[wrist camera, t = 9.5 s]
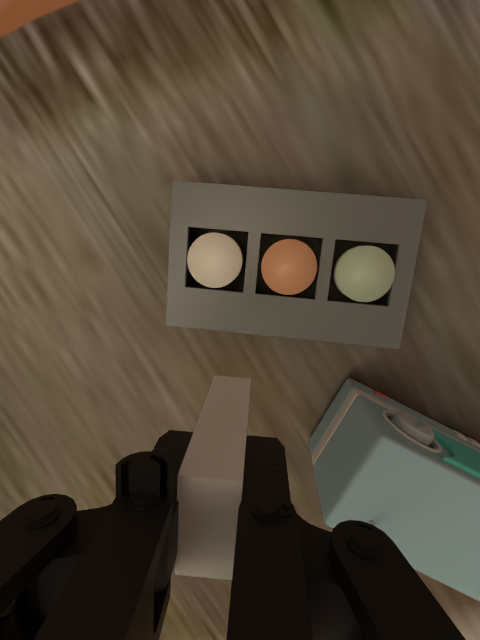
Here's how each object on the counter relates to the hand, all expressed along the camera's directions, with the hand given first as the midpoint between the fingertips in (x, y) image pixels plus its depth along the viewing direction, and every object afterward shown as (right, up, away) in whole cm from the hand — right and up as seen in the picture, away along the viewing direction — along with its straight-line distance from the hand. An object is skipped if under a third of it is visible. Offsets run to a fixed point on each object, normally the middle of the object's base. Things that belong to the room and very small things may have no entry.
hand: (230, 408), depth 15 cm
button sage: (+10, +8, +16) cm, 20 cm away
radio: (+16, -8, +21) cm, 28 cm away
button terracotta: (+4, +8, +16) cm, 19 cm away
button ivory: (-1, +9, +16) cm, 19 cm away
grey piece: (+5, +9, +19) cm, 21 cm away
